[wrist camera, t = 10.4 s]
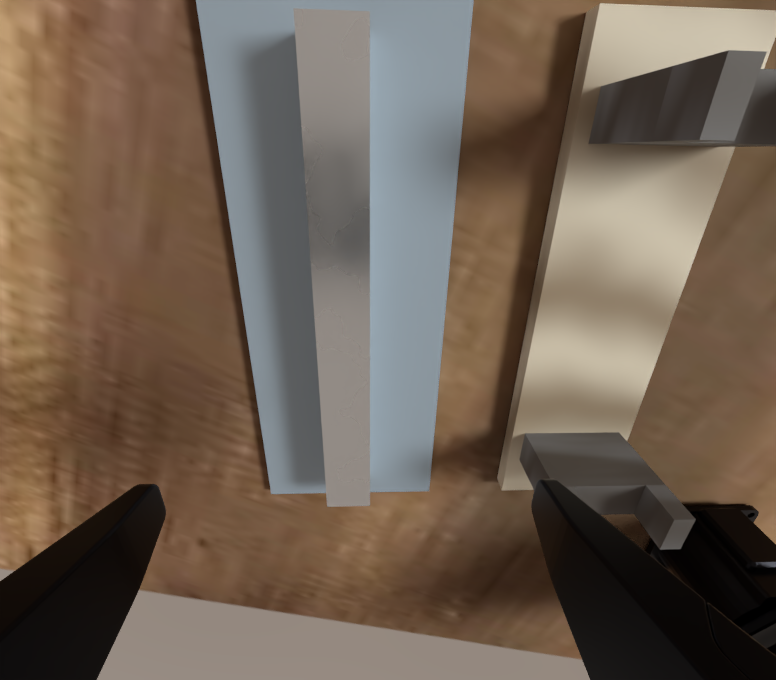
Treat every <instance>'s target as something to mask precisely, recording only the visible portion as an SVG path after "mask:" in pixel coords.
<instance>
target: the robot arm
mask: <svg viewBox="0 0 776 680" xmlns="http://www.w3.org/2000/svg"><path fill="white" fill-rule="evenodd" d="M531 507H532V514H533V517H534V521H535V525H536V528H537V532H538V535H539V539H540V542H541V546H542V550H543V553H544V557H545V560H546V564H547V567H548V571H549V574H550V577H551V580H552V583H553V585H554V588H555V591H556V593H557V596H558V599H559V601H560V604H561V606H562V609H563V611H564V614H565V616H566V619H567V622H568V624H569V627H570V629H571V632H572V634H573V637H574V639H575V642H576V645H577V647H578V650H579V652H580V655H581V657H582V660H583V662H584V665H585V667H586V670H587V672H588V675H589V678H590V680H776V544H775V543H773V542H772V541H771V540H770V539H769V538H768V537H767V536H766V535H765V534H764V533H763V532H762V531H761V530H760V529H759V528H758V527H757V526H756V525H755V524H754V523H753V522H754V521H755V519H756V518H757V516H758V514H759V512H758V511H757V510H756V509H755V508H754V507H753V506H750V505H745V506H696V507H685V508H686V509H687V510H688V511H689V512H690V513H691V514H692V516H693V517H694V518H695V519H696V520H695V522H694V524H693V526H692V528H691V530H690V532H689V534H688V536H687V537H686V539H685V541H684V543H683V545H682V547H681V549H665V550H660V549H659V548H658V546H657V545H656V544H655V542H654V541H653V540H652V539H651V541H650V543H649V546H648V548H647V550H646V552H645V551H644V550H643V549H642V548H641V547H639V546H638V545H637V544H636V543H634V542H633V541H632V540H631V539H629V538H628V537H627V536H626V535H625V534H623V533H622V532H621V531H620V530H618V529H617V528H616V527H615V526H613V525H612V524H611V523H610V522H609V521H607V520H606V519H605V518H604V517H602V516H601V515H600V514H599V513H597V512H596V511H595V510H594V509H593V508H591V507H590V506H589V505H588V504H586V503H585V502H584V501H583V500H581V499H580V498H579V497H578V496H577V495H575V494H574V493H573V492H572V491H570V490H569V489H568V488H567V487H565V486H564V485H563V484H562V483H561V482H559V481H558V480H556V479H539V480H538V481H537V483H536V487H535V491H534V495H533V499H532V505H531ZM165 515H166V509H165V505H164V502H163V499H162V496H161V493H160V490H159V487H158V486H157V485H155V484H139V485H136V486H134V487H133V488H131V489H130V490H129V491H127V492H126V493H124V494H123V495H122V496H120V497H119V498H117V499H116V500H114V501H113V502H112V503H110V504H109V505H107V506H106V507H105V508H103V509H102V510H100V511H99V512H98V513H96V514H95V515H93V516H92V517H90V518H89V519H88V520H86V521H85V522H83V523H82V524H81V525H79V526H78V527H76V528H75V529H73V530H72V531H71V532H69V533H68V534H66V535H65V536H64V537H62V538H61V539H59V540H58V541H57V542H55V543H54V544H52V545H51V546H49V547H48V548H47V549H45V550H44V551H42V552H41V553H40V554H38V555H37V556H35V557H34V558H33V559H31V560H30V561H28V562H27V563H25V564H24V565H23V566H21V567H20V568H18V569H17V570H16V571H14V572H13V573H11V574H10V575H9V576H7V577H6V578H4V579H3V580H2V581H0V680H97V678H98V676H99V673H100V671H101V669H102V667H103V665H104V663H105V661H106V659H107V656H108V654H109V652H110V650H111V648H112V646H113V644H114V642H115V640H116V637H117V635H118V633H119V631H120V629H121V627H122V625H123V623H124V621H125V618H126V616H127V614H128V612H129V610H130V608H131V606H132V604H133V601H134V599H135V597H136V595H137V593H138V590H139V588H140V586H141V583H142V581H143V578H144V575H145V573H146V570H147V567H148V564H149V562H150V559H151V556H152V553H153V550H154V548H155V545H156V542H157V539H158V537H159V534H160V531H161V528H162V525H163V523H164V520H165Z"/></svg>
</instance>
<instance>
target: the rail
mask: <svg viewBox="0 0 776 680" xmlns="http://www.w3.org/2000/svg"><path fill="white" fill-rule="evenodd" d="M293 9H294V24H295V39H296V54H297V68H298V83H299V98H300V113H301V127H302V142H303V157H304V172H305V186H306V201H307V216H308V231H309V245H310V260H311V275H312V290H313V305H314V319H315V334H316V349H317V364H318V378H319V393H320V408H321V423H322V437H323V452H324V467H325V482H326V496H327V507H335V506H370V11H350V10H324V9H298V8H293Z"/></svg>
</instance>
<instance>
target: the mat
mask: <svg viewBox="0 0 776 680" xmlns="http://www.w3.org/2000/svg"><path fill="white" fill-rule="evenodd" d="M473 1H474V0H196V5H197V12H198V18H199V25H200V31H201V38H202V44H203V51H204V57H205V64H206V70H207V77H208V84H209V90H210V97H211V103H212V110H213V116H214V123H215V129H216V136H217V142H218V149H219V156H220V162H221V169H222V175H223V182H224V188H225V195H226V201H227V208H228V214H229V221H230V227H231V234H232V241H233V247H234V254H235V260H236V267H237V273H238V280H239V286H240V293H241V299H242V306H243V313H244V319H245V326H246V332H247V339H248V345H249V352H250V358H251V365H252V371H253V378H254V385H255V391H256V398H257V404H258V411H259V417H260V424H261V430H262V437H263V443H264V450H265V457H266V463H267V470H268V476H269V483H270V489H271V494H295V493H326V482H325V467H324V452H323V437H322V423H321V408H320V393H319V378H318V364H317V349H316V334H315V319H314V305H313V290H312V275H311V260H310V245H309V231H308V216H307V201H306V186H305V172H304V157H303V142H302V127H301V113H300V98H299V83H298V68H297V54H296V39H295V24H294V9H293V8H298V9H324V10H350V11H370V492H407V491H429V486H430V475H431V464H432V453H433V442H434V431H435V420H436V409H437V398H438V387H439V376H440V365H441V354H442V343H443V332H444V321H445V310H446V299H447V288H448V277H449V266H450V255H451V243H452V232H453V221H454V210H455V199H456V188H457V177H458V166H459V155H460V144H461V133H462V122H463V111H464V100H465V89H466V78H467V67H468V56H469V45H470V34H471V23H472V12H473Z"/></svg>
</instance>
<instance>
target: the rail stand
mask: <svg viewBox="0 0 776 680" xmlns="http://www.w3.org/2000/svg"><path fill="white" fill-rule="evenodd" d="M775 37H776V11H775V10H750V9H726V8H701V7H677V6H652V5H627V4H603V3H600V4H598V5H597V6H595V7H594V8H592V9H591V10H589V11H587V12H586V16H585V21H584V27H583V32H582V37H581V42H580V47H579V53H578V58H577V63H576V68H575V74H574V79H573V84H572V89H571V95H570V100H569V105H568V110H567V115H566V121H565V126H564V131H563V136H562V142H561V147H560V152H559V157H558V162H557V168H556V173H555V178H554V183H553V189H552V194H551V199H550V204H549V209H548V215H547V220H546V225H545V230H544V236H543V241H542V246H541V251H540V257H539V262H538V267H537V272H536V277H535V283H534V288H533V293H532V298H531V304H530V309H529V314H528V319H527V324H526V330H525V335H524V340H523V345H522V351H521V356H520V361H519V366H518V371H517V377H516V382H515V387H514V392H513V398H512V403H511V408H510V413H509V419H508V424H507V429H506V434H505V439H504V445H503V450H502V455H501V460H500V466H499V471H498V476H497V479H498V482H499V485H500V487H501V490H534V491H535V487H536V483H537V481H538V480H539V479H556V480H558V481H559V482H561V483H562V484H563V485H564V486H565V487H567V488H568V489H569V490H570V491H572V492H573V493H574V494H575V495H577V496H578V497H579V498H580V499H581V500H583V501H584V502H585V503H586V504H588V505H589V506H590V507H591V508H593V509H594V510H595V511H596V512H597V513H599V514H600V515H604V514H634V515H635V516H636V518H637V519H638V520H639V522H640V523H641V524H642V526H643V527H644V529H645V530H646V531H647V533H648V534H649V535H650V537H651V538H652V540H653V541H654V542H655V544H656V545H657V546H658V548H659V549H660V550H665V549H681V547H682V545H683V543H684V541H685V539H686V537H687V536H688V534H689V532H690V530H691V528H692V526H693V524H694V522H695V520H696V519H695V518H694V517H693V516H692V514H691V513H690V512H689V511H688V510H687V509H686V508H685V506H684V505H683V504H682V503H681V502H680V501H679V500H678V499H677V497H676V496H675V495H674V494H673V493H672V492H671V491H670V490H669V488H668V487H667V486H666V485H665V484H664V483H663V482H662V480H661V479H660V478H659V477H658V476H657V475H656V474H655V473H654V471H653V470H652V469H651V468H650V467H649V466H648V465H647V464H646V462H645V461H644V460H643V459H642V458H641V457H640V456H639V454H638V453H637V452H636V451H635V450H634V449H633V448H632V447H631V445H630V444H629V443H628V442H627V440H628V438H629V435H630V432H631V429H632V427H633V424H634V421H635V419H636V416H637V413H638V410H639V408H640V405H641V402H642V399H643V397H644V394H645V391H646V389H647V386H648V383H649V380H650V378H651V375H652V372H653V369H654V367H655V364H656V361H657V359H658V356H659V353H660V350H661V348H662V345H663V342H664V340H665V337H666V334H667V331H668V329H669V326H670V323H671V320H672V318H673V315H674V312H675V310H676V307H677V304H678V301H679V299H680V296H681V293H682V290H683V288H684V285H685V282H686V280H687V277H688V274H689V271H690V269H691V266H692V263H693V261H694V258H695V255H696V252H697V250H698V247H699V244H700V241H701V239H702V236H703V233H704V231H705V228H706V225H707V222H708V220H709V217H710V214H711V211H712V209H713V206H714V203H715V201H716V198H717V195H718V192H719V190H720V187H721V184H722V181H723V179H724V176H725V173H726V171H727V168H728V165H729V162H730V160H731V157H732V154H733V152H734V149H735V147H745V146H776V69H764V67H765V64H766V62H767V59H768V56H769V53H770V51H771V48H772V45H773V43H774V40H775Z"/></svg>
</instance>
